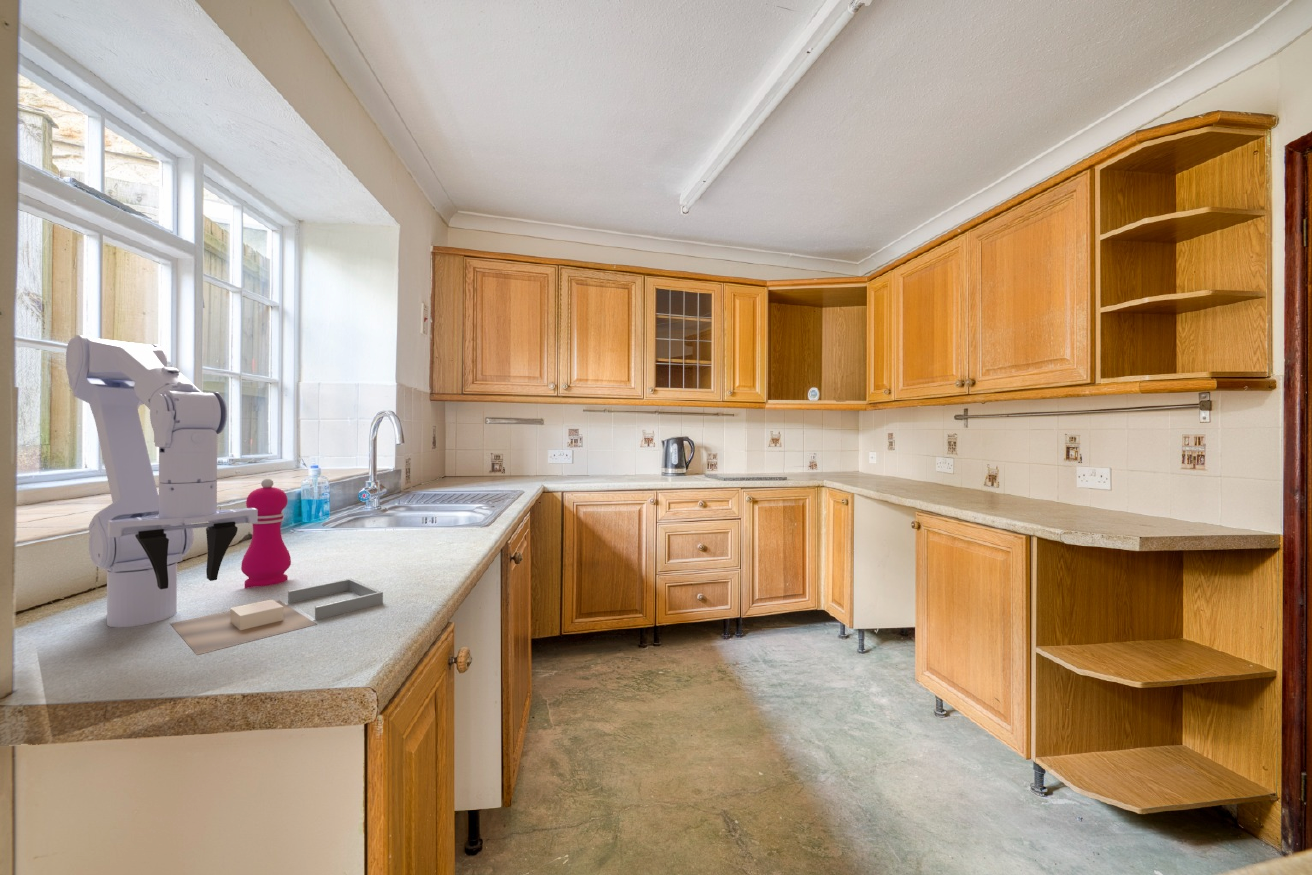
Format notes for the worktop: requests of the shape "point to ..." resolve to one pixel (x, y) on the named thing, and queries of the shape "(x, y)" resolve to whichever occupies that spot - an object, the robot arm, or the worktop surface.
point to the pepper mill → (266, 538)
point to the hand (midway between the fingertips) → (188, 583)
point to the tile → (256, 614)
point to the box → (365, 600)
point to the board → (234, 630)
